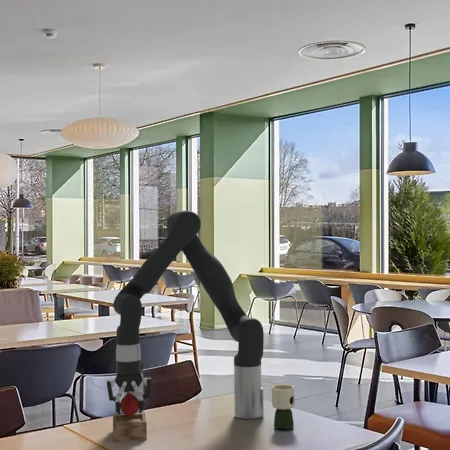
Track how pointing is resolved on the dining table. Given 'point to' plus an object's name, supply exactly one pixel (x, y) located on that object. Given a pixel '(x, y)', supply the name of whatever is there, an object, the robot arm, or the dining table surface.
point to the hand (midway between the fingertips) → (129, 412)
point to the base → (129, 427)
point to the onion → (129, 404)
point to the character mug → (283, 405)
